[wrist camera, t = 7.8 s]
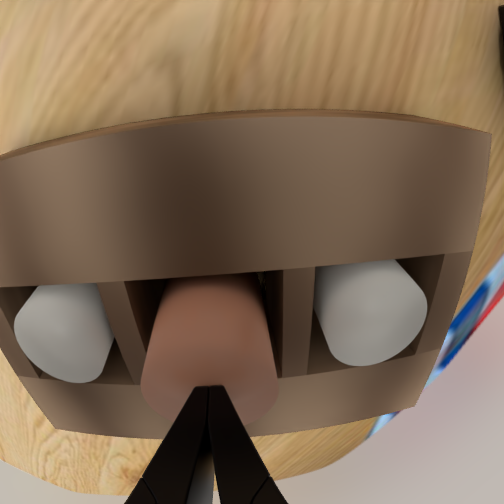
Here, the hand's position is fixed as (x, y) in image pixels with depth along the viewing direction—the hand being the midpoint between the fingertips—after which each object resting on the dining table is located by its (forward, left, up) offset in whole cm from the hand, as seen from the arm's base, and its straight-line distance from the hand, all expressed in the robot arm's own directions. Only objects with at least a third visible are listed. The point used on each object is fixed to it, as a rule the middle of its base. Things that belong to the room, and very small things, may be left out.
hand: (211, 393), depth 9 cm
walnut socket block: (0, 0, -8) cm, 8 cm away
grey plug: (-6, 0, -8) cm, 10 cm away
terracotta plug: (0, 0, -5) cm, 5 cm away
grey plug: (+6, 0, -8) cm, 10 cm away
